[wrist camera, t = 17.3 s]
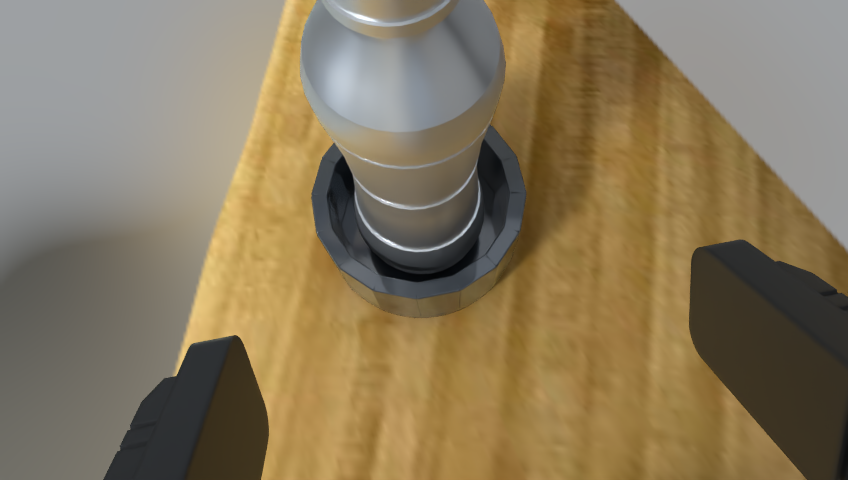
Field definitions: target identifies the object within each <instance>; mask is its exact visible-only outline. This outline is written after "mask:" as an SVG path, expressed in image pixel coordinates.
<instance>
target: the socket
mask: <svg viewBox="0 0 848 480" xmlns="http://www.w3.org/2000/svg"><path fill="white" fill-rule="evenodd" d="M477 173H478V179H479V182H480V185H481V188H482V194H483V200H484V208H485V212H484V222H483V226H482V229H481V232H480V235H479V236H478V238H477V240H476V242H475V244H474V245H473V246H472V248H471V249H470V250H469V251H468V252H467V254H466V255H465V256H464V257H463V258H462V259H461V260H460V261H458V262H457V263H456V264H454V265H453V266H451V267H449V268H447V269H445V270H443V271H439V272H435V273H431V274H414V273H407V272H404V271H401V270H398V269H396V268H394V267H392V266H391V265H389V264H387V263H386V262H384V261H383V260H382V259H381V258H380V257H379V256H377V255H376V254H375V253H374V252H373V251H372V250H371V249H370V248H369V247H368V245H367V244H366V243H365V241H364V240H363V238H362V236H361V234H360V232H359V230H358V226H357V222H356V218H355V207H354V192H355V185H354V179H353V174H352V172H351V170H350V168H349V166H348V164H347V162H346V159H345V157H344V156H343V154H342V153H341V151H340V150H339V149H338V147H337V146H336V144H335V143H333V145H332V146H331V147H330V148H329V150H328V151H327V152H326V153H325V155H324V156H323V157H322V160H321V163H320V166H319V170H318V173H317V177H316V180H315V184H314V187H313V190H312V197H311V199H312V206H313V214H314V221H315V228H316V233H317V236H318V238H319V239H320V241H321V242H322V244H323V246H324V247H325V249H326V250H327V252H328V254H329V255H330V257H331V259H332V260H333V262H334V263H335V265H336V266H337V268H338V270H339V271H340V273H341V274H342V276H343V277H344V279H345V281H346V282H347V284H348V285H349V287H350V288H351V289H352V290H353V291H355V292H356V293H357V294H358V295H360V296H361V297H362V298H363V299H365V300H366V301H367V302H369V303H371V304H372V305H374V306H376V307H378V308H380V309H382V310H384V311H387V312H389V313H393V314H396V315H400V316H406V317H414V318H429V317H436V316H442V315H446V314H450V313H453V312H456V311H458V310H460V309H463V308H465V307H467V306H469V305H470V304H472V303H474V302H475V301H477V300H478V299H479V298H481V297H482V296H483V295H485V294H486V293H487V292H488V291H489V290H491V288H492V287H493V286H494V285H495V283H496V282H497V281H498V279H499V278H500V277H501V275H502V274H503V272H504V270H505V268H506V266H507V265H508V263H509V262H510V260H511V258H512V256H513V253H514V250H515V247H516V244H517V241H518V237H519V234H520V231H521V225H522V219H523V213H524V207H525V201H526V195H527V194H526V189H525V185H524V181H523V178H522V174H521V170H520V167H519V163H518V159H517V156H516V155H515V153H514V152H513V151H512V150H511V148H510V147H509V146H508V145H507V143H506V142H505V141H504V140H503V138H502V137H501V136H500V135H499V134H498V132H497V131H496V130H495V129H494V127H493V126H491V125H489V127H488V129H487V132H486V134H485V136H484V139H483V141H482V143H481V148H480V153H479V157H478V162H477Z"/></svg>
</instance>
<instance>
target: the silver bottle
mask: <svg viewBox="0 0 848 480" xmlns="http://www.w3.org/2000/svg"><path fill="white" fill-rule="evenodd" d="M505 67H506V61H505V55H504V48H503V44H502V40H501V37H500V34H499V31H498V28H497V25H496V23H495V20H494V17H493V15H492V12H491V11H490V9H489V8H488V6H487V5H486V3H485V2H484V0H317V1H316V3H315V5H314V7H313V9H312V11H311V13H310V15H309V17H308V19H307V21H306V24H305V27H304V31H303V36H302V41H301V54H300V77H301V81H302V85H303V89H304V93H305V95H306V97H307V99H308V101H309V103H310V105H311V107H312V109H313V111H314V113H315V115H316V116H317V118H318V120H319V122H320V124H321V125H322V126H323V128H324V129H325V130H326V132H327V133H328V135H329V136H330V137H331V139H332V140H333V142H334V143H335V144H336V146H337V147H338V149H339V150H340V151H341V153H342V154H343V156H344V157H345V159H346V162H347V164H348V166H349V168H350V170H351V172H352V174H353V179H354V185H355V192H354V207H355V218H356V222H357V226H358V230H359V232H360V234H361V236H362V238H363V240H364V241H365V243H366V244H367V245H368V247H369V248H370V249H371V250H372V251H373V252H374V253H375V254H376V255H377V256H379V257H380V258H381V259H382V260H383V261H384V262H386V263H387V264H389V265H391V266H392V267H394V268H396V269H398V270H401V271H404V272H407V273H414V274H431V273H435V272H439V271H443V270H445V269H447V268H449V267H451V266H453V265H454V264H456V263H457V262H458V261H460V260H461V259H462V258H463V257H464V256H465V255H466V254H467V252H468V251H469V250H470V249H471V248H472V246H473V245H474V244H475V242H476V240H477V238H478V236H479V235H480V232H481V229H482V226H483V222H484V212H485V208H484V200H483V194H482V188H481V185H480V182H479V179H478V173H477V162H478V157H479V153H480V148H481V143H482V141H483V139H484V136H485V134H486V132H487V129H488V127H489V125H490V122H491V120H492V117H493V115H494V113H495V111H496V107H497V104H498V101H499V98H500V95H501V91H502V87H503V84H504V79H505Z"/></svg>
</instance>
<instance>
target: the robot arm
mask: <svg viewBox="0 0 848 480" xmlns="http://www.w3.org/2000/svg"><path fill="white" fill-rule="evenodd" d="M689 328H690V334H691V338H692V341H693V344H694V346H695V348H696V350H697V352H698V354H699V355H700V357H701V358H702V359H703V360H704V362H705V363H706V364H707V365H708V366H709V367H710V368H711V370H712V371H713V372H714V373H715V374H716V375H717V377H718V378H719V379H720V380H721V381H722V382H723V383H724V385H725V386H726V387H727V388H728V389H729V390H730V392H731V393H732V394H733V395H734V396H735V397H736V398H737V400H738V401H739V402H740V403H741V404H742V405H743V406H744V408H745V409H746V410H747V411H748V412H749V413H750V415H751V416H752V417H753V418H754V419H755V420H756V421H757V423H758V424H759V425H760V426H761V427H762V428H763V429H764V431H765V432H766V433H767V434H768V435H769V436H770V438H771V439H772V440H773V441H774V442H775V443H776V444H777V446H778V447H779V448H780V449H781V450H782V451H783V452H784V454H785V455H786V456H787V457H788V458H789V459H790V461H791V462H792V463H793V464H794V465H795V466H796V467H797V469H798V470H799V471H800V472H801V473H802V474H803V475H804V477H805V478H806V479H807V480H848V297H847V296H845V295H844V294H842V293H839V294H838V293H837V289H835V288H834V287H832V286H831V285H829V284H828V283H826V282H825V281H823V280H822V279H820V278H819V277H818V276H816V275H815V274H813V273H811V272H808V271H806V270H803V269H800V268H798V267H795V266H792V265H789V264H787V263H784V262H781V261H777V262H775V261H774V260H772V259H771V258H769V257H768V256H767V255H765V254H764V253H762V252H761V251H760V250H758V249H757V248H755V247H754V246H753V245H751V244H750V243H748V242H747V241H745V240H735V241H730V242H725V243H719V244H714V245H709V246H704V247H699V248H697V249H696V250H695V251H694V253H693V255H692V261H691V284H690V310H689ZM130 428H131V429H130V430H128V431H127V433H126V435H125V437H124V439H123V441H122V443H121V445H120V449H121V450H120V451H118V452H117V453H116V455H115V457H114V459H113V461H112V463H111V465H110V467H109V469H108V471H107V473H106V476H105V477H104V479H103V480H261V476H262V471H263V466H264V460H265V455H266V450H267V444H268V437H269V425H268V416H267V411H266V407H265V403H264V400H263V398H262V395H261V392H260V389H259V386H258V384H257V381H256V378H255V375H254V372H253V369H252V367H251V364H250V361H249V358H248V355H247V352H246V350H245V347H244V344H243V342H242V341H241V339H240V338H239V337H238V336H236V335H234V336H229V337H224V338H219V339H213V340H208V341H203V342H198V343H193V344H192V345H191V346H190V347H189V349H188V351H187V353H186V356H185V358H184V360H183V363H182V365H181V367H180V369H179V372H178V374H177V376H175V377H170V378H165V379H163V380H162V381H161V382H160V384H158V385H157V387H155V389H154V390H153V391H152V392H151V393H150V394H149V395H148V396H147V397H146V398H145V399H144V400H143V401H142V402H141V404H140V406H139V408H138V411H137V412H136V414H135V416H134V419H133V421H132V423H131V425H130Z"/></svg>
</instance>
